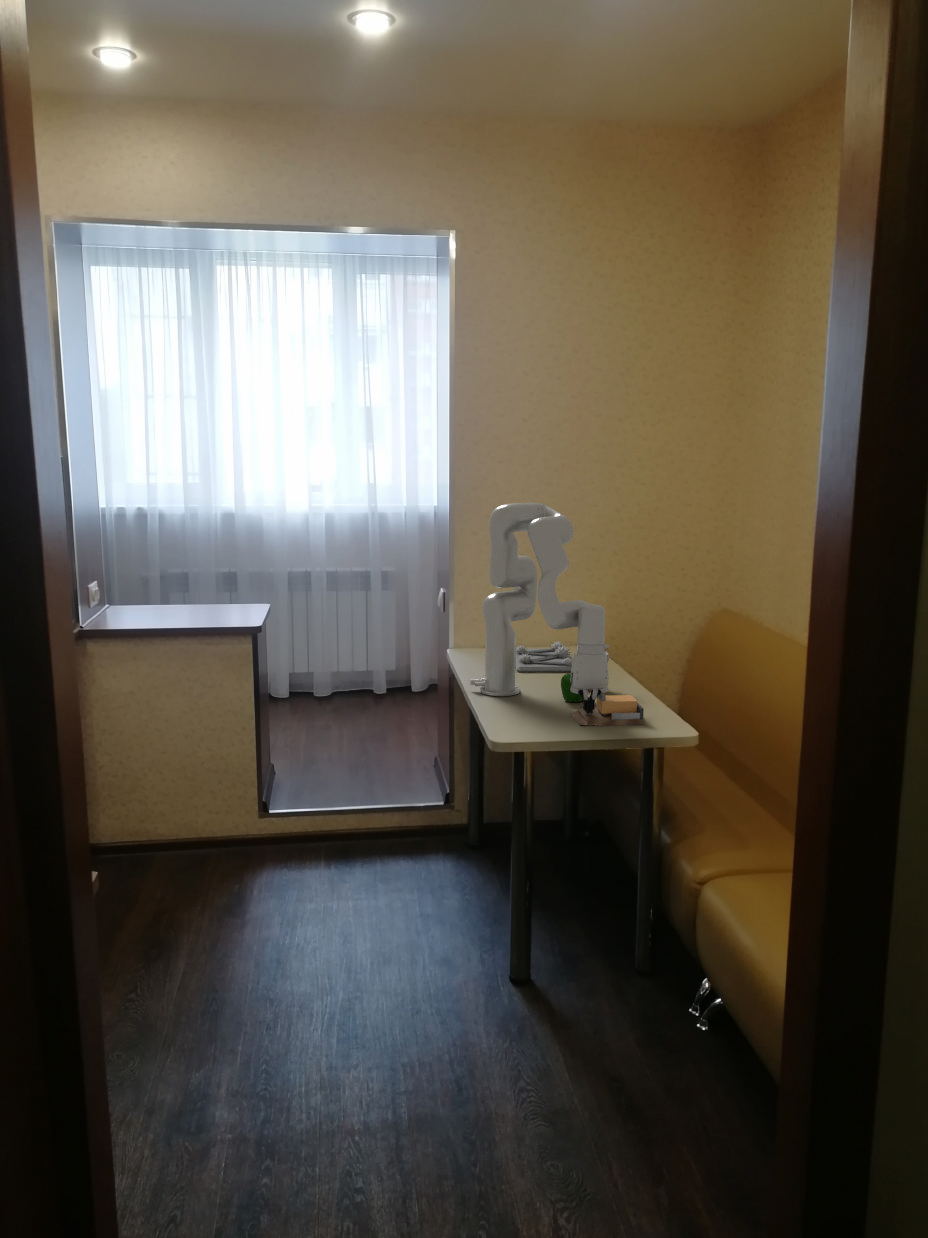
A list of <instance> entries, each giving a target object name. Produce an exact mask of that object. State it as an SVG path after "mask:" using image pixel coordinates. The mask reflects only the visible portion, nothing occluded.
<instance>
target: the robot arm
mask: <svg viewBox="0 0 928 1238" xmlns="http://www.w3.org/2000/svg"><path fill="white" fill-rule="evenodd" d="M488 532H489V537H490V539H489V540H490V547H489V548H490V549H489V565H488V566H489V569H488V574H489V575H488V577H489V579H488V580H489V582H490V584H491V585H492V587H494V588H496V589H497V588H498V589H509V588H513V590H507V591H506V590H505V591H498V592H493V593H491V594H489V595H488V596H486V597H485V599H483V601H482V614H483V621H484V629H485V632H484V633H485V640H484V643H485V646H484V647H485V653H484V654H485V655H484V656H485V657H484V658H485V660H484V661H485V662H484V675H483V676H482V677H480V678H479V679H477V678H470V679H469V684H470V686H474V687H479V692H480V693H482V694H484V695H487V696H491V697H510V696H515V695H518V694H519V693H520V692H521V688H520V686H519V685H516V667H515V666H516V648H517V637H516V632H515V630H514V627H513V626H512V622H516V621H523V620H524V621H525V620H527V619H529V618H531V617H532V616H533V615H534V612H535V610H536V606H537V601H538V605H539V608H540V612H541V614H542V617H543V619H544V620H545V623H546V624H547V625H548V627H550V628H551V629H553V630H564V629H569V628H577V639H576V640H577V641H576V644H577V645H576V648H577V649H576V651H575V652H573V656H572V659H573V661H572V668H571V672H570V674H571V680H570V681H571V689H570V691H571V692H572V693H577V694H580V695H581V696H582V697H583V701H582V702H583V703H582V709H583V710H585V712H586V713H587V714H589V713H591V714H593V710H594V709H595V708H596V707H595V706H596V700H597V697H598V696H599V695H600V694H601V693H607V692H609V665H608V663H609V661H608V662H607V656H606V653H604V652H606V651H607V650H610V644H606V643H605V638H606V636H605V635H606V632H605V631H606V608H605V607H604V606H602V605H600V604H593V603H592V604H591V603H589V602H587V601H585V600H582V599H577V600H576V599H575V600H566V601H560V600H559V597H558V595H557V592H556V582H557V579H558V578H559V576H560V575H561V574H563V573H565V571H566V570H567V569H568V568H569V567H570V559H569V557H568V555H567V553H566V550H565V546H564V545H567V544H568V543H570V542H572V541H573V540H572V539H573V538H574V535H575V534H574V532H575V531H574V526H573V524H572V522H571V520H570V519H569V518H568V517H567V516H566V515H564V514H562V513H561V512H559V511H557V510H555V509H553V508H551V507H550V506H548V505H547V504H544V503H541V502H513V503H512V502H511V503H505V504H502V505H499V506H497V507H495V509H493V510H492V512H491V513H490V517H489V520H488ZM519 532H527V535H528V538H529V542H530V545H531V547H532V550H533V552H534V555H535V557H536V558H535V559H536V561H537V564H538V566H539V569H540V573H541V575H540V578H539V581H538V569H537V565H536V562H535V561H534V560H533V558H531V557H530V556H528V555H519V553H518V552H519V543H518V542H519V541H518V539H517V536H516V535H515V533H519ZM587 689H591V692H588V691H587Z"/></svg>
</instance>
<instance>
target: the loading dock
mask: <svg viewBox="0 0 928 1238" xmlns="http://www.w3.org/2000/svg"><path fill="white" fill-rule="evenodd" d="M644 710H645V709H644V707H643V706H642V705H640V703H639V702H637V712H623V713H609V715H608V716H602V715H601V712H599V711H598V709H597V707H595V709H594V710H593V714H591V713H589V714H587V713H586V712H585V710H583V708H577V711H573V710H571V711H570V716H572V718H575V719H574V720H575V722H576V723H577V722H578V723H579V724H580V725H595V726H594V727H601V726H602V727H604V726H605V727H608V726H609V727H610V726H645V725H644V722H645V720H644ZM578 723H577V724H578ZM579 724H578V725H579ZM580 725H579V726H580ZM597 725H598V726H597Z"/></svg>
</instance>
